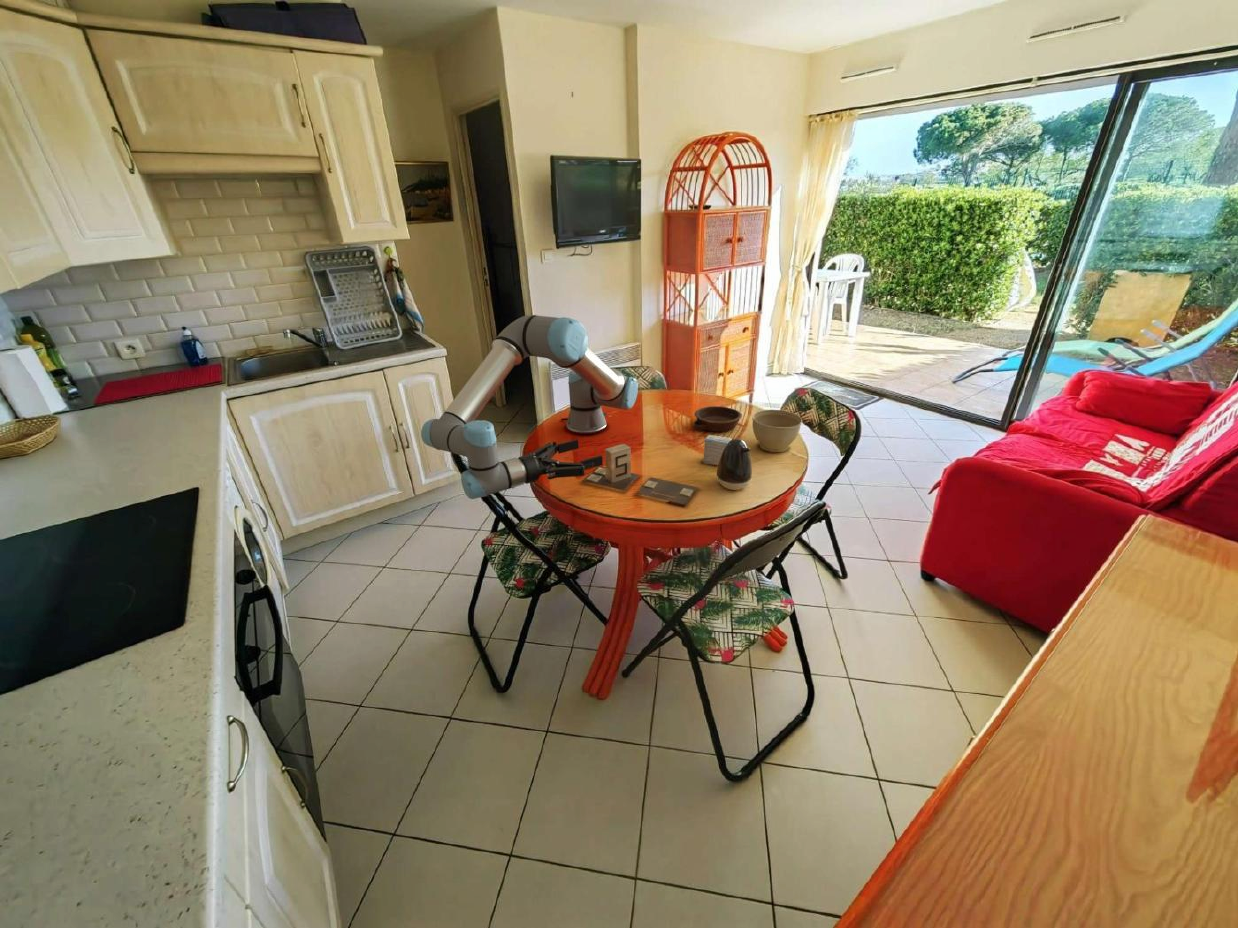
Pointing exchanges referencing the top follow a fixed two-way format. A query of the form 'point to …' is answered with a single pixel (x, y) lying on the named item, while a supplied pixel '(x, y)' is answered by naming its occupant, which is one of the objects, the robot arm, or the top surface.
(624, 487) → the left mat
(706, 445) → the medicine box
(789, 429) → the planter bowl
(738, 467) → the pump dispenser
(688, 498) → the right mat
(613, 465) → the small grey cuboid
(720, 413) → the dish
